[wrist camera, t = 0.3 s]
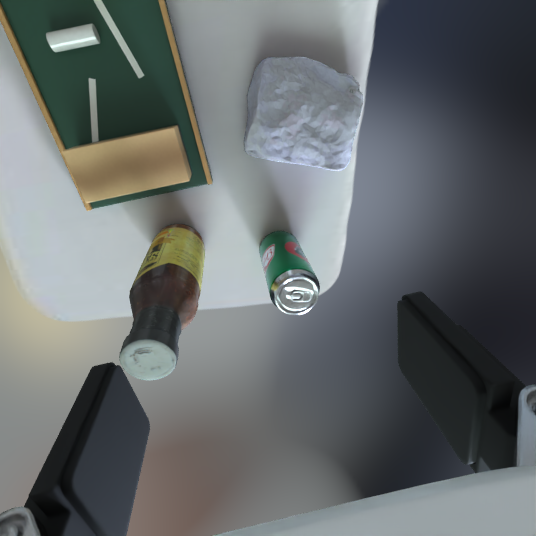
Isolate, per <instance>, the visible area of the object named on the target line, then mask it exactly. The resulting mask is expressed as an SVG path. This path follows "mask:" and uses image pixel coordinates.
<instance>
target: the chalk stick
mask: <svg viewBox="0 0 536 536" xmlns="http://www.w3.org/2000/svg"><path fill="white" fill-rule="evenodd" d="M46 38H47V41H48V43H49V45H50V47H51V48H52V50H53V51H54V52H56V53H57V52H62V51H67V50H71V49H76V48H81V47H86V46H91V45H96V44H100V37H99V34H98V32H97V29H96V28H95V26H94V25H93V24H92V23H91V24H86V25H81V26H76V27H71V28H66V29H61V30H56V31H51V32H47V33H46Z"/></svg>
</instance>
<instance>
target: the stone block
mask: <svg viewBox="0 0 536 536" xmlns="http://www.w3.org/2000/svg"><path fill="white" fill-rule="evenodd" d="M247 101H248V108H247V109H248V122H247V126H246V132H245V137H244V146H245V152H246V153H248V154H249V155H250V156H253V157H256V158H262V159H267V160H272V161H278V162H285V163H292V164H301V165H308V166H314V167H320V168H324V169H328V170H334V171H341V170H343V169H344V168H345V167H346V166H347V165H348V163H349V161H350V158H351V157H350V154H351V151H352V144H353V140H354V136H355V133H356V129H357V125H358V123H359V117H360V113H361V109H362V104H363V94H362V93H361V92H360V91H359V83H358V82H357V81H356V80H355V79H354V77H353V76H351V75H349V74H341V73H339V72H337V71H335V70H334V69H333V68H331V67H329V66H327V65H325V64H323V63H321V62H318V61H315V60H311V59H309V58H306V57H302V56H301V57H291V58H289V57H283V58H273V57H269V58H265V59H264V60H262V61H261V62H260V64H259V65H258V66H257V68H256V70H255V72H254V74H253V79H252V82H251V85H250V87H249V90H248V94H247Z"/></svg>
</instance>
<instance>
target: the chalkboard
mask: <svg viewBox="0 0 536 536" xmlns="http://www.w3.org/2000/svg"><path fill="white" fill-rule="evenodd" d="M0 21H1V23H2V25H3V28H4V30H5V32H6V34H7V36H8V39H9V41H10V43H11V45H12V47H13V50H14V52H15V54H16V56H17V58H18V61H19V63H20V65H21V67H22V69H23V72H24V74H25V76H26V78H27V80H28V83H29V85H30V87H31V89H32V91H33V94H34V96H35V98H36V100H37V102H38V105H39V107H40V109H41V111H42V113H43V116H44V118H45V120H46V122H47V124H48V127H49V129H50V131H51V133H52V135H53V137H54V140H55V142H56V144H57V146H58V148H59V151H60V153H61V155H62V157H63V159H64V162H65V164H66V166H67V168H68V170H69V173H70V175H71V177H72V179H73V181H74V184H75V186H76V188H77V190H78V192H79V195H80V197H81V199H82V201H83V203H84V206H85V208H86V210H87V211H89V210H92V209H94V208H98V207H103V206H108V205H112V204H117V203H122V202H126V201H131V200H136V199H140V198H145V197H149V196H154V195H159V194H163V193H168V192H173V191H177V190H182V189H187V188H191V187H196V186H200V185H205V184H208V185H209V184H212V176H211V172H210V169H209V165H208V161H207V157H206V153H205V149H204V146H203V142H202V138H201V134H200V130H199V127H198V123H197V119H196V115H195V111H194V107H193V104H192V100H191V96H190V92H189V88H188V84H187V81H186V77H185V73H184V69H183V65H182V61H181V58H180V54H179V50H178V46H177V42H176V39H175V35H174V31H173V27H172V23H171V19H170V16H169V12H168V8H167V4H166V0H0ZM91 23H92V24H93V25H94V26H95V28H96V29H97V32H98V34H99V37H100V44H96V45H91V46H86V47H81V48H76V49H71V50H67V51H62V52H57V53H56V52H54V51H53V50H52V48H51V47H50V45H49V43H48V41H47V38H46V33H47V32H51V31H56V30H61V29H66V28H71V27H76V26H81V25H86V24H91ZM177 124H179V127H180V131H181V134H182V138H183V141H184V145H185V148H186V152H187V155H188V159H189V162H190V166H191V169H192V172H193V173H192V175H191V178H190V180H189V181H187V182H183V183H178V184H174V185H169V186H164V187H160V188H155V189H150V190H146V191H141V192H136V193H132V194H127V195H122V196H118V197H113V198H109V199H104V200H99V201H95V202H90V203H85V201H84V199H83V197H82V194H81V192H80V190H79V188H78V186H77V183H76V181H75V179H74V177H73V175H72V172H71V170H70V168H69V166H68V164H67V162H66V159H65V157H64V155H63V153H62V151H64V150H66V149H69V148H72V147H75V146H78V145H82V144H87V143H92V142H97V141H101V140H106V139H111V138H116V137H120V136H125V135H130V134H135V133H139V132H144V131H149V130H153V129H158V128H163V127H168V126H172V125H177Z"/></svg>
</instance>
